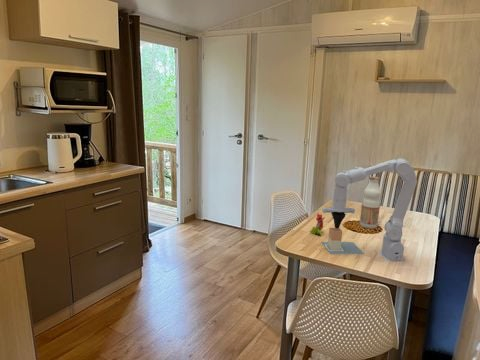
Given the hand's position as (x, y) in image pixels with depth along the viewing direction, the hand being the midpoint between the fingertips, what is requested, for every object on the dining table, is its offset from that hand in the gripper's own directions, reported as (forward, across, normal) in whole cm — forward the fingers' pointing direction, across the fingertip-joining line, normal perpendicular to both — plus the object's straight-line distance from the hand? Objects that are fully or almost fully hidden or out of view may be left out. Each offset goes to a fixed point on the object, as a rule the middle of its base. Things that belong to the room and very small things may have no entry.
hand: (336, 227), depth 165 cm
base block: (+10, 0, 0) cm, 10 cm away
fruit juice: (+11, -31, -32) cm, 45 cm away
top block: (+5, 0, 0) cm, 5 cm away
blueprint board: (+10, -4, 0) cm, 11 cm away
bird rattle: (+11, +2, -19) cm, 22 cm away
